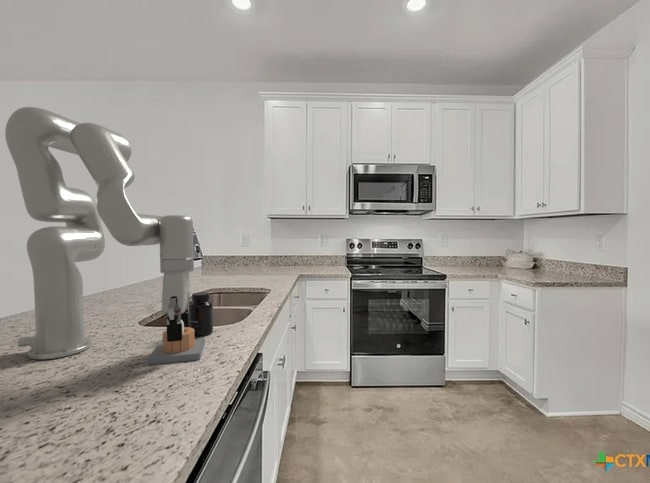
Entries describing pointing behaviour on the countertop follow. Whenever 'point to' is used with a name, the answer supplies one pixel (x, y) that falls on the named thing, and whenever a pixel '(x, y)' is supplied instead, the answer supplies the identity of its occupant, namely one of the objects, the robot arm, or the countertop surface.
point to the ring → (179, 342)
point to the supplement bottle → (201, 314)
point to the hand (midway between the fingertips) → (178, 334)
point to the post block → (165, 357)
